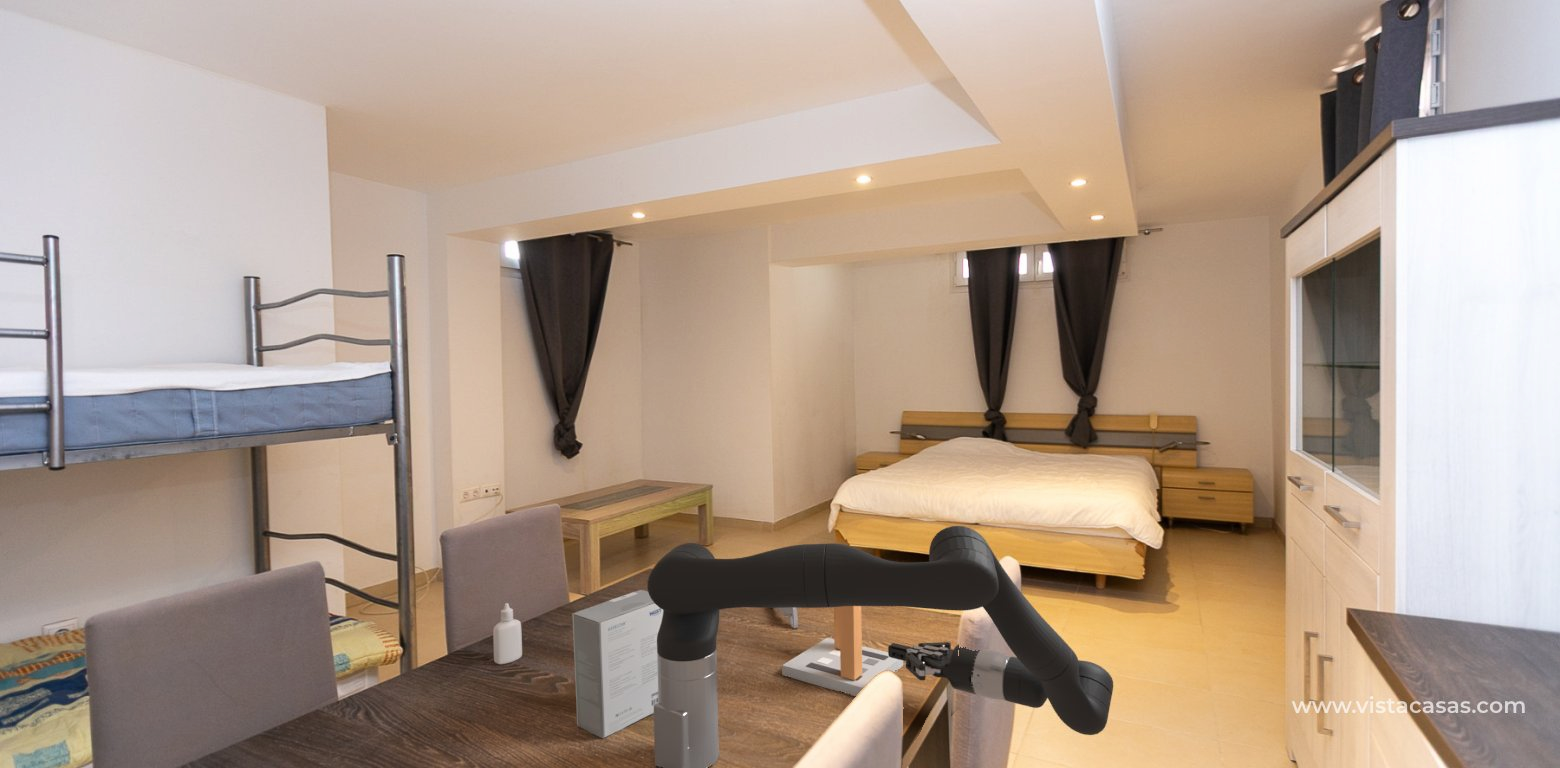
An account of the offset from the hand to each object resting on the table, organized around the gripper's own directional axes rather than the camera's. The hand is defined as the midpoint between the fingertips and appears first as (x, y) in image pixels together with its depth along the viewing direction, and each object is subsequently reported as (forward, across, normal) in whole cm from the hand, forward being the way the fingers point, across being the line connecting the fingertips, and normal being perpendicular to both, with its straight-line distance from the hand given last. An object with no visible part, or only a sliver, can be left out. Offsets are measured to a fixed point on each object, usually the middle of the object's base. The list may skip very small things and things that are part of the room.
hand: (890, 649), depth 132 cm
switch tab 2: (+8, 0, +7) cm, 11 cm away
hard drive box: (+36, +32, +9) cm, 49 cm away
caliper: (+42, -25, +10) cm, 50 cm away
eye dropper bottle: (+75, +28, +9) cm, 81 cm away
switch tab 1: (+16, -11, +7) cm, 21 cm away
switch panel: (+13, -6, +9) cm, 17 cm away
